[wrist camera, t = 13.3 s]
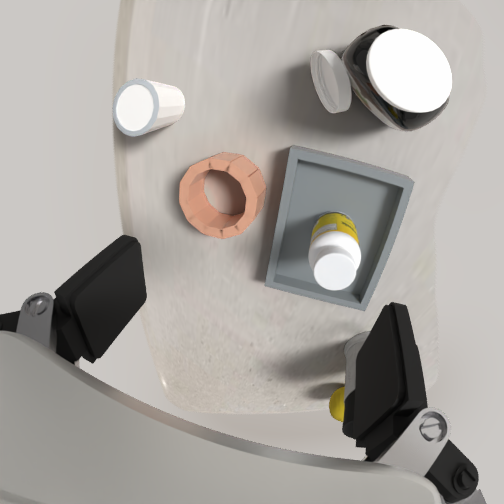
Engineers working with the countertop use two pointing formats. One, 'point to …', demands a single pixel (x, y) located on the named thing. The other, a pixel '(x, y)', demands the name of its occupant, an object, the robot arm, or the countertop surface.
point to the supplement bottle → (334, 250)
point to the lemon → (337, 404)
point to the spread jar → (386, 77)
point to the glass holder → (351, 380)
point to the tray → (342, 200)
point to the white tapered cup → (146, 106)
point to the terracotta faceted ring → (207, 215)
